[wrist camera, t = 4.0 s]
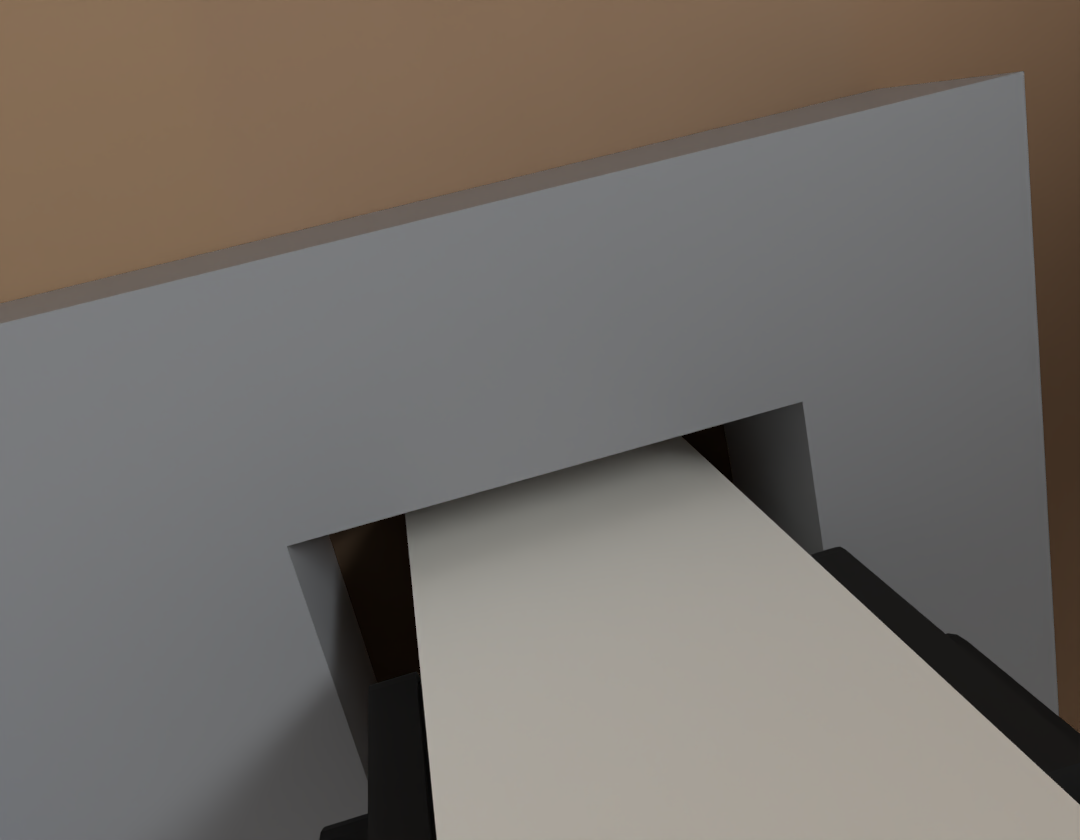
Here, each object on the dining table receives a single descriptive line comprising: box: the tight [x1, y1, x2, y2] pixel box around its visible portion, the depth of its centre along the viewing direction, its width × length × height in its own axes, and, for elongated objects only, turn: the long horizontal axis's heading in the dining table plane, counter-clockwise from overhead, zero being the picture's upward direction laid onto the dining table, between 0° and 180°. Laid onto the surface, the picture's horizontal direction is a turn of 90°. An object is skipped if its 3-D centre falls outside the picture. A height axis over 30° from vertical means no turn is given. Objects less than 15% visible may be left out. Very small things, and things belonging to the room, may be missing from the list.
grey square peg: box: [405, 436, 1080, 840], centre depth 9 cm, size 4×4×11 cm
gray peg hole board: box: [0, 71, 1059, 840], centre depth 11 cm, size 24×12×5 cm, turn 103°
